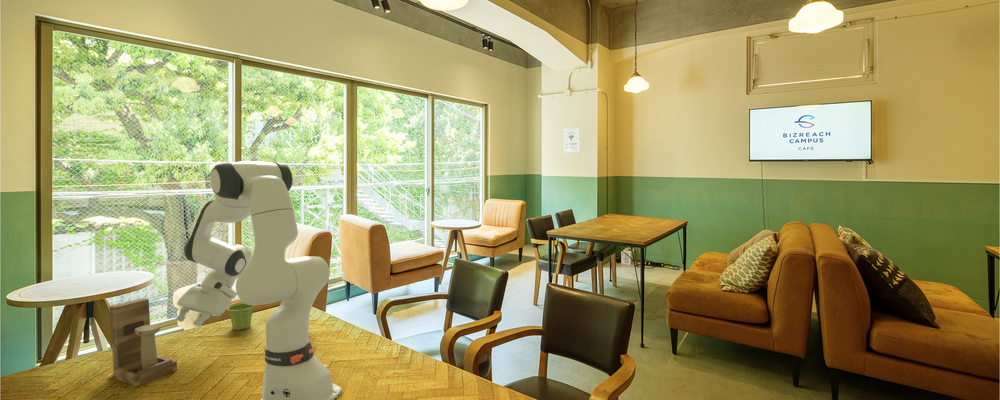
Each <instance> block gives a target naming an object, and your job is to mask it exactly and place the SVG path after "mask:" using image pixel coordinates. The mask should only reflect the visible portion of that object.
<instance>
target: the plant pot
mask: <svg viewBox="0 0 1000 400" xmlns="http://www.w3.org/2000/svg"><path fill="white" fill-rule="evenodd" d="M255 306H256V305H247V304H245V303H244V302H242V303H241V302H240V303H235V304H232V305H229V306H228V307H227V309H226V311H228V314H229V317H230V321H231V325H232V330H235V331H241V330H246V329H249V328H250V327H251V323H252V316H253V311H254V308H255Z"/></svg>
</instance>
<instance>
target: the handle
mask: <svg viewBox="0 0 1000 400" xmlns="http://www.w3.org/2000/svg"><path fill="white" fill-rule="evenodd" d="M160 330H161V326H160V325H158V324H150V325H144V326H140V327H138V328H136V329H135V333H136V334H137V335H139V336H141V364H142V369H145V368H147V367H150V366H153V365H155V364H157V355H158V352H157V343H156V335H155V334H157V333H159V331H160ZM142 369H141V370H142Z"/></svg>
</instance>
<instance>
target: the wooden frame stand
mask: <svg viewBox="0 0 1000 400" xmlns="http://www.w3.org/2000/svg"><path fill="white" fill-rule="evenodd" d="M108 308H109V309H108V310H109V321H110V335H111V338H110V339H111V349H112V350H111V351H112V352H111V353H112V362H113V363H112V365H113V375H114V379H115V380H116V381H119V382H122V383H125V384H127V385H130V386H131V387H135V388H136V387H139V386H141V385H143V384H146V383H149V382H151V381H154V380H157V379H159V378H161V377H163V376H167V375H169V374H172V373H173V372H176V371H178V361H177V360H174V359H171V358H170V357H169V358H168V357H165V356H163V355H159V354H157V364H155V365H153V366H150V367H147V368H145V369H142V364H141V336H139V335H137V334H136V333H135V329H136V328H138V327H140V326H144V325H151V316H150V300H149V299H148V298H145V297H141V298H137V299H133V300H129V301H126V302H125V301H124V302H121V303H117V304H113V305H109V307H108ZM134 372H136V373H134Z"/></svg>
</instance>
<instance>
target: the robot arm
mask: <svg viewBox="0 0 1000 400" xmlns="http://www.w3.org/2000/svg"><path fill="white" fill-rule="evenodd" d="M289 167H290V166H289ZM289 167H288V164H285V163H282V162H279V161H278V162H277V161H272V162H270V161H269V162H268V161H267V162H266V161H252V160H246V161H244V160H243V161H236V162H234V161H233V162H230V161H229V162H222V163H221V162H220V163H218V164H216V165H214V166H213V168H212V169H211V172H210V176H209V177H210V179H209V180H210V186H211V189H212V192H213V193H214V194H215V195H216V196H215V198H214V199H211V200H209V201H208V202H206V203H205V204H204V205H203V207H202V209H201V210H200V213H199V214H198V217H197V218H196V219H197V220H196V222H195V225H194V228H193V229H192V232H191V235H190V237H189V239H188V240H187V241H186V243H185V245H184V248H183V254H184V257H185V258H186V260H187V261H190V262H192V263H195V264H199V265H202V266H203V267H206V268H208V269H211V271H210V272H208V273H207V275H206V277H205V278H204V279H203V280H202V281H201V283H199V284H196V285H194V286H192V287H190V288H189V289H188V290H186V292H185V293H183V295H182V296H181V297H180V298H179V299H178V300H177V304H176V305H178V306H179V307H180V310H179V313H178V315H177V316H176V318H175V320H176V321H178V322H181V323H182V322H183V321H185V319H186V315H187V313H189V312H190V311H192V312H197V313H201V316H200V317H199V318H196V319H195V320H194V322H193V323H192V324H193V325H194V326H195V327H201V326H202V324H203V323H205V322H206V321H207V320H209V319H210V318H211V316H213V317H216V318H217V317H220V316H222V315H223V314H224V313H225V312H226V311H227V308H228V307H229V306H231V303H232V299H233V300H235V298H236V297H238V299H239V300H240V301H241V302H242V303H245V304H247V305H255V306H261V305H268V304H273V303H277V302H279V301H280V304H279V306H278V307H277V309H276V310H274V311H273V312H272V313H271V314H270V315H269V317H268V318H267V320H266V322H265V340H266V341H265V342H266V346H265V348H264V354H263V355H264V361H265V364H266V365H265V370H264V373H263V375H262V376H263V377H262V390H261V398H260V400H335V398H336V399H337V398H338V397H339V396H340V395H341V394H342V390H343V388H342V387H341V386H339V385H337V384H336V383H333V377H332V373H331V371H330V370H329V368H328V365H326V364H323V363H322V362H321V361H320V360H319V358H318V357H316V355H315V352H316V351H317V350H316V348H317V347H316V346H314V347H313V346H312V343H311V341H310V337H309V335H310V334H309V329H310V328H309V327H310V324H309V323H310V314H311V310H312V308H313V305H314V303H315V301H316V298H317V296H318V294H319V293H320V291H321V290H322V289H323V288H324V287H325V286H326V285H327V284H328V282H329V281H330V272H331V271H330V267H329V264H328V263H327V261H326V259H324V258H322V257H321V256H314V255H312V256H311V255H309V256H306V255H305V256H299V257H294V258H288V259H286V258H285V257H286V255H285V253H286V249H287V248H288V247H289V246H290V245H292V244H293V243H294V242H295V241H296V240H297V237H298V234H299V230H298V225H297V221H296V217H295V216H296V214H295V210H294V207H293V201H292V198H291V196H290V195H291V194H290V192H289V191H291V188H292V187H293V181H294V180H293V174H292V171H291V169H290V168H289ZM249 217H251V218H250V219H251V222H252V223H251V224H252V229H253V236H254V247H253V248H254V250H253V253H252V252H251V250H250V249H249V248H247V247H246V246H244V245H241V244H234V245H233V244H229V243H227V242H225V241H223V240H219V239H217V238H215V237H214V236H213V235H212V234H211V232H212V230H213V227H214V225H215V223H216V222H217V223H218V222H220V223H225V224H226V223H227V224H228V223H229V224H234V223H239V222H242V221H244V220H246V219H248V218H249ZM234 284H235V290H234V289H233V288H232V287H233V286H234ZM338 395H339V396H338Z"/></svg>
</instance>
